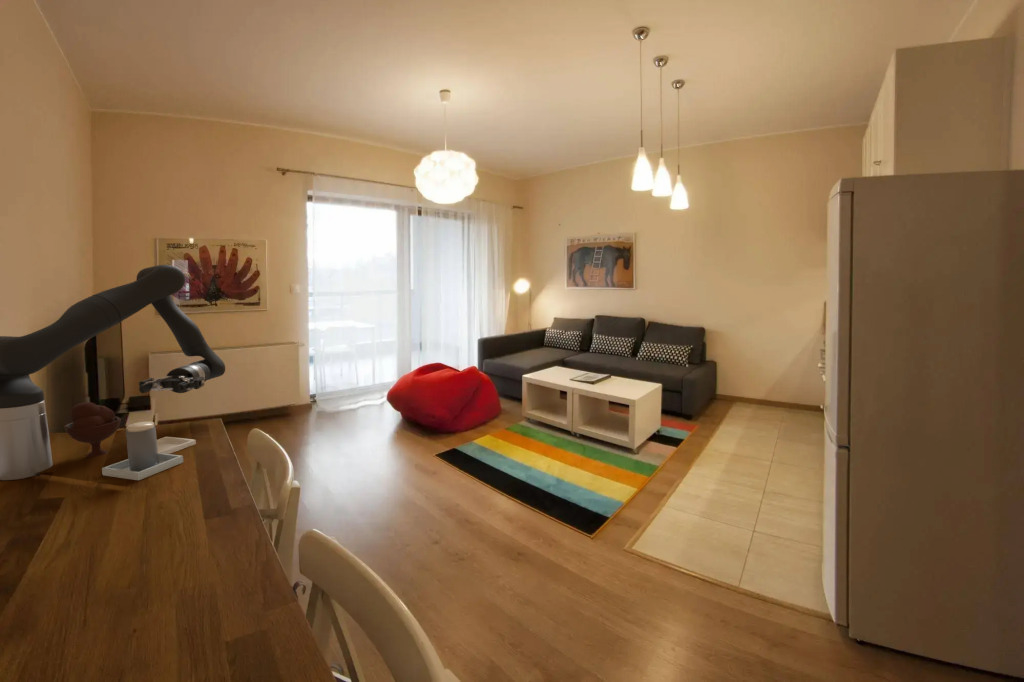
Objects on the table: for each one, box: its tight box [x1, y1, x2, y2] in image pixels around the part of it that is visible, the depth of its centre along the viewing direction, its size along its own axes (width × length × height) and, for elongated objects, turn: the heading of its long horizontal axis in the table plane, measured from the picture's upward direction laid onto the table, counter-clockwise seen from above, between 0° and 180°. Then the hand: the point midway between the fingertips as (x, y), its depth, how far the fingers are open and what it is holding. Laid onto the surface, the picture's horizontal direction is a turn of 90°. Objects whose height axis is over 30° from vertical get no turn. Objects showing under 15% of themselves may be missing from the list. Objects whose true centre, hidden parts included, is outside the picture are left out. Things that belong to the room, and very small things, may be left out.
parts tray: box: [157, 436, 197, 454], centre depth 124 cm, size 10×10×2 cm
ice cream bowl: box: [63, 401, 122, 458], centre depth 119 cm, size 11×11×15 cm
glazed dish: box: [101, 453, 184, 481], centre depth 111 cm, size 11×11×2 cm
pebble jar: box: [125, 421, 159, 472], centre depth 110 cm, size 6×6×11 cm
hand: (160, 388), depth 121 cm, fingers open, 8 cm apart
